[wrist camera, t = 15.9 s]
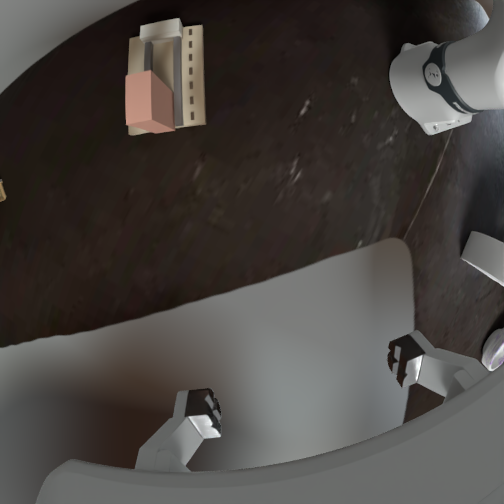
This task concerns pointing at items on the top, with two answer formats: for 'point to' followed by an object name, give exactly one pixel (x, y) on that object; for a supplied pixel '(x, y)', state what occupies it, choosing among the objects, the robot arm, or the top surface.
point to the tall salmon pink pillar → (149, 103)
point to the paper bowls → (494, 350)
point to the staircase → (2, 191)
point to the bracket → (485, 255)
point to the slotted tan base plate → (173, 67)
